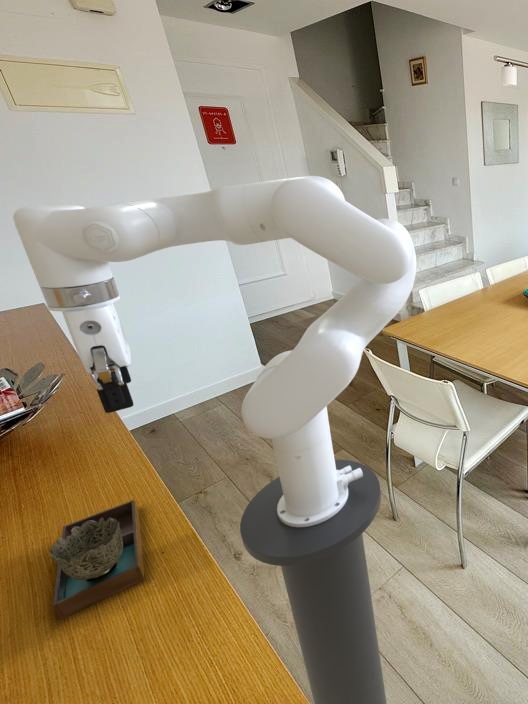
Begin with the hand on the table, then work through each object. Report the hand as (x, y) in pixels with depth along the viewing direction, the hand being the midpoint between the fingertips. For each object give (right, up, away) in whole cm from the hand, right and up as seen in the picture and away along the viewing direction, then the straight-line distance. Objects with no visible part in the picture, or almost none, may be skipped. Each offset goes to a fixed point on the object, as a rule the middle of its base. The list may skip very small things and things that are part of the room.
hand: (119, 396), depth 66 cm
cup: (-1, -28, -1) cm, 28 cm away
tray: (-4, -27, +2) cm, 28 cm away
